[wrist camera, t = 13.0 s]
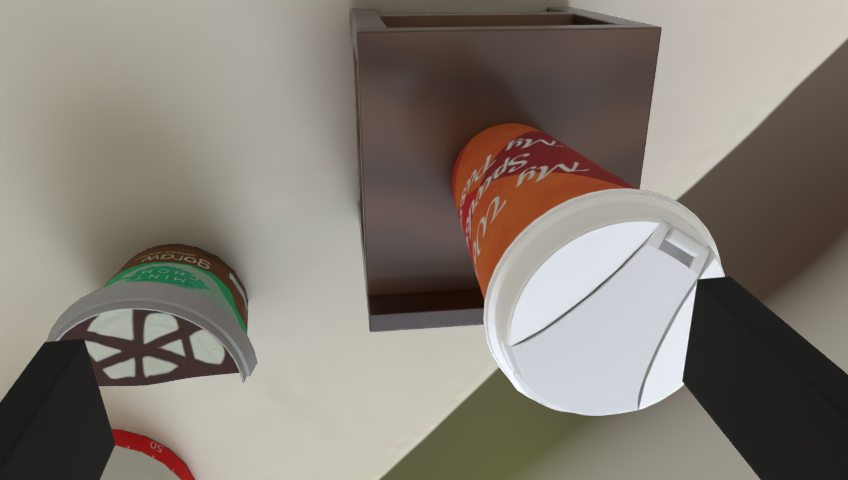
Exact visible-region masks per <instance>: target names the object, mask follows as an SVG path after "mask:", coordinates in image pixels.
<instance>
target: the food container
mask: <svg viewBox="0 0 848 480" xmlns="http://www.w3.org/2000/svg"><path fill="white" fill-rule="evenodd" d="M247 322H248V300H247V296H246V292H245V288H244V287H243V285H242V283H241V282H240V280H239V279H238V277H237V275H236V274H235V272H234V271H233V270H232V269H231V268H230V267H229V266H228V265H226V264H225V263H224V262H223V261H222V260H221V259H219V258H218V257H217V256H215V255H213V254H210V253H208V252H206V251H204V250H202V249H199V248H197V247H191V246H186V245H180V244H177V245H162V246H157V247H153V248H150V249H147V250H145V251H143V252H141V253H139V254H137V255H136V256H135V257H133V258H132V259H131V260H129V262H128V263H127V264H126V265H125V266H124V267H123V268H122V269H121V270H120V271H119V272H118V273H117V274H116V275H115V276H114V277H113V278H112V279H111V280H110V281H109V283H108V284H107V285H106V286H105V287H104V288H102V289H99V290H96V291H94V292H92V293H90V294H88V295H86V296H84V297H82V298H81V299H79V300H78V301H77V302H75V303H74V304H72V305H71V306H70V307H69V308H68V309H67V310H66V311H65V312H64V313H63V314H62V315H61V316H60V317H59V319H58V320H57V322H56V323H55V325H54V326H53V328H52V329H51V331H50V334H49V336H48V339H47V341H46V342H50V341H61V340H71V339H82V338H84V340H85V343H86V346H87V350H88V353H89V356H90V360H91V363H92V366H93V370H94V373H95V376H96V380H97V383H98V386H139V385H151V384H157V383H163V382H168V381H174V380H179V379H185V378H191V377H200V376H210V375H219V374H230V373H240V375H241V378H242V382H243V383H244V382H245V379H246V376H250V375H251V373H252V371H253V369H254V368H255V366H256V364H257V359H256V355H255V352H254V349H253V347H252V344H251V342H250V340H249V338H248V336H247Z"/></svg>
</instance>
